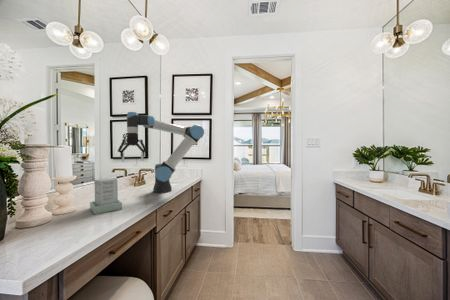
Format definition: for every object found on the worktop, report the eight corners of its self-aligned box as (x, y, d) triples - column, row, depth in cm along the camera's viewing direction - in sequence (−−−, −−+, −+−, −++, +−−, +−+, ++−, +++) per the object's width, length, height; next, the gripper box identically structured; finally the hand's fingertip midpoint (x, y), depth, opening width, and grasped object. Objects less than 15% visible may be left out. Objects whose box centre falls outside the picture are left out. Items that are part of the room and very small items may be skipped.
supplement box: (118, 206, 121) (118, 178, 121) (102, 210, 113) (101, 181, 113) (110, 204, 126) (110, 177, 126) (94, 208, 119) (93, 179, 119)
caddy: (115, 204, 130) (115, 198, 130) (122, 209, 118) (121, 202, 118) (90, 208, 121) (89, 202, 121) (93, 214, 109) (93, 207, 109)
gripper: (147, 134, 161) (147, 160, 161) (112, 132, 145) (113, 161, 145) (151, 133, 156) (151, 160, 156) (115, 131, 139) (115, 162, 139)
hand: (132, 161), depth 150 cm, fingers open, 13 cm apart
